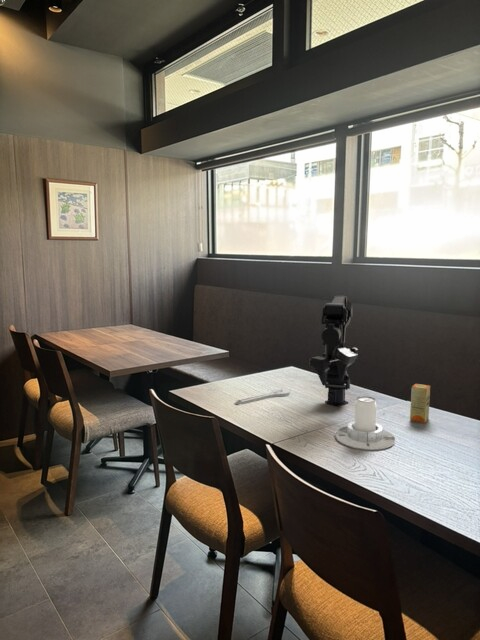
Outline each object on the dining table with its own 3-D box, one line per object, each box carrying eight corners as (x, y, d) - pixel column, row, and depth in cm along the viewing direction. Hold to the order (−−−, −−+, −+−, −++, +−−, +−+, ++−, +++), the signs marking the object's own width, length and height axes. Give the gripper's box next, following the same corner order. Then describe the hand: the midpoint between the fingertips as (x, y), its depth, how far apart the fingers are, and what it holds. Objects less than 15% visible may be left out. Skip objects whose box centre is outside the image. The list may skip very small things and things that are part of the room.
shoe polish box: (409, 420, 163) (411, 386, 161) (413, 416, 167) (415, 383, 165) (424, 423, 160) (426, 389, 158) (428, 419, 164) (430, 385, 162)
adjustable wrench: (238, 406, 180) (238, 402, 180) (230, 402, 186) (230, 397, 186) (291, 395, 192) (291, 391, 192) (282, 391, 198) (282, 387, 198)
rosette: (359, 423, 160) (359, 412, 160) (406, 439, 147) (407, 428, 146) (323, 436, 149) (323, 425, 149) (371, 455, 135) (371, 443, 135)
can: (349, 434, 149) (350, 397, 147) (364, 430, 152) (365, 394, 151) (364, 441, 144) (366, 403, 142) (379, 437, 147) (381, 399, 145)
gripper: (334, 346, 152) (333, 393, 155) (369, 339, 164) (368, 383, 166) (308, 341, 161) (308, 385, 163) (344, 335, 172) (343, 376, 175)
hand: (332, 382), depth 167 cm, fingers open, 9 cm apart
